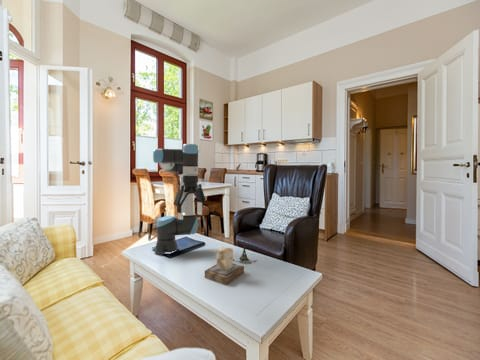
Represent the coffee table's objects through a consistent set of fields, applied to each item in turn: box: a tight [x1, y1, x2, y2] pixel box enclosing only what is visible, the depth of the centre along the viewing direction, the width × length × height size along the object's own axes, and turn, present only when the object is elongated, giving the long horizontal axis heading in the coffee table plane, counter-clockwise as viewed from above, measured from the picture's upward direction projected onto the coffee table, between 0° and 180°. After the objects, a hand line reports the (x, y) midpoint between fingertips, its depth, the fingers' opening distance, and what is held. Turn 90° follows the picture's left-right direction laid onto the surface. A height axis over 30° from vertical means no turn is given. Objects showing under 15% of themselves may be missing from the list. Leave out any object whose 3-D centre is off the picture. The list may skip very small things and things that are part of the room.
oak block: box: [216, 246, 234, 271], centre depth 124 cm, size 6×6×10 cm
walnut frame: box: [204, 262, 245, 286], centre depth 124 cm, size 14×16×4 cm
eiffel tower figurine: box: [233, 239, 258, 265], centre depth 145 cm, size 15×10×13 cm
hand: (190, 216), depth 120 cm, fingers open, 13 cm apart
